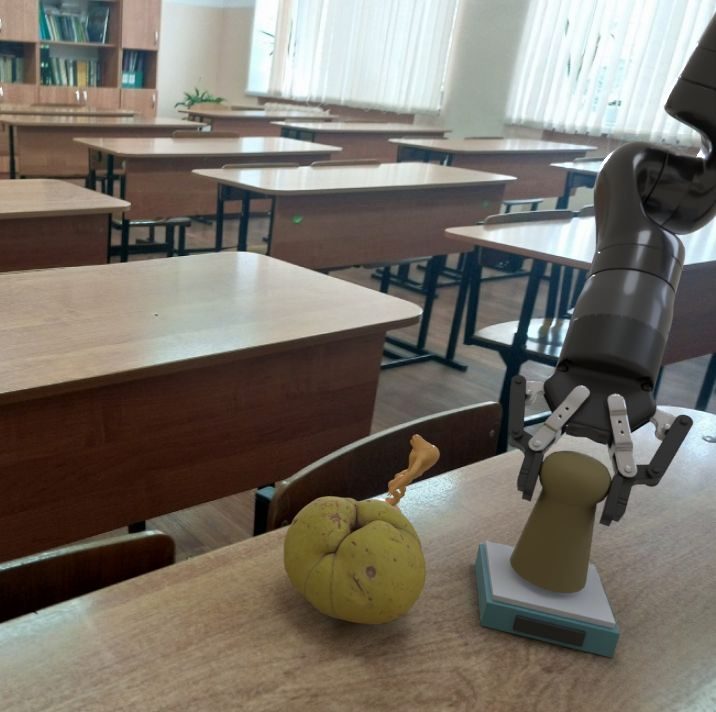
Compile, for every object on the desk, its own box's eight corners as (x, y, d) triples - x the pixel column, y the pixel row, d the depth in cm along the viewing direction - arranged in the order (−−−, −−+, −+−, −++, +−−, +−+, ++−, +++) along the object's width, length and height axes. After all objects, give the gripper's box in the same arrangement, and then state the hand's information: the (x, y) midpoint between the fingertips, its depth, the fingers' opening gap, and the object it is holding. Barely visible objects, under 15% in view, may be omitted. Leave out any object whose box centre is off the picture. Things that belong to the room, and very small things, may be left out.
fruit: (348, 553, 71) (364, 462, 67) (445, 631, 61) (469, 530, 58) (255, 585, 65) (266, 488, 62) (345, 676, 56) (364, 568, 52)
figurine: (375, 511, 78) (394, 409, 74) (431, 532, 75) (454, 427, 70) (344, 546, 72) (362, 437, 67) (404, 572, 68) (428, 459, 64)
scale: (589, 590, 67) (598, 562, 66) (613, 661, 59) (623, 630, 58) (474, 564, 70) (481, 537, 69) (481, 628, 62) (488, 598, 61)
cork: (525, 540, 67) (554, 434, 63) (595, 572, 64) (631, 461, 59) (498, 567, 63) (527, 456, 59) (572, 603, 59) (609, 487, 55)
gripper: (530, 295, 65) (473, 466, 60) (726, 331, 58) (680, 529, 53) (526, 335, 71) (473, 494, 66) (703, 373, 64) (659, 554, 59)
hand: (565, 509), depth 59 cm, fingers closed on cork, 5 cm apart
